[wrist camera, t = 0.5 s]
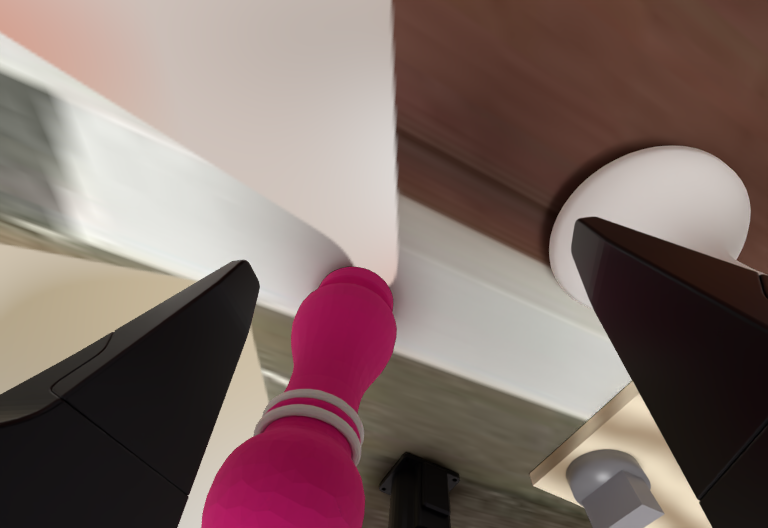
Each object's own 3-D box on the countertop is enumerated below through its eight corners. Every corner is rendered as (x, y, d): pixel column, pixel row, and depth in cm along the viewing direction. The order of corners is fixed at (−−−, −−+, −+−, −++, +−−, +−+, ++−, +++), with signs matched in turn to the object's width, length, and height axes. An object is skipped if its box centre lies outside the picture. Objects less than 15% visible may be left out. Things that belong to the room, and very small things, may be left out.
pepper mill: (311, 255, 26) (69, 579, 8) (403, 264, 26) (370, 626, 8) (313, 331, 29) (141, 693, 11) (395, 340, 29) (359, 731, 11)
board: (678, 538, 36) (687, 551, 35) (529, 473, 34) (533, 485, 33) (868, 425, 28) (886, 437, 27) (686, 332, 26) (698, 341, 25)
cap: (606, 502, 33) (632, 555, 29) (551, 479, 32) (571, 531, 28) (655, 465, 30) (692, 519, 26) (597, 439, 30) (626, 490, 26)
